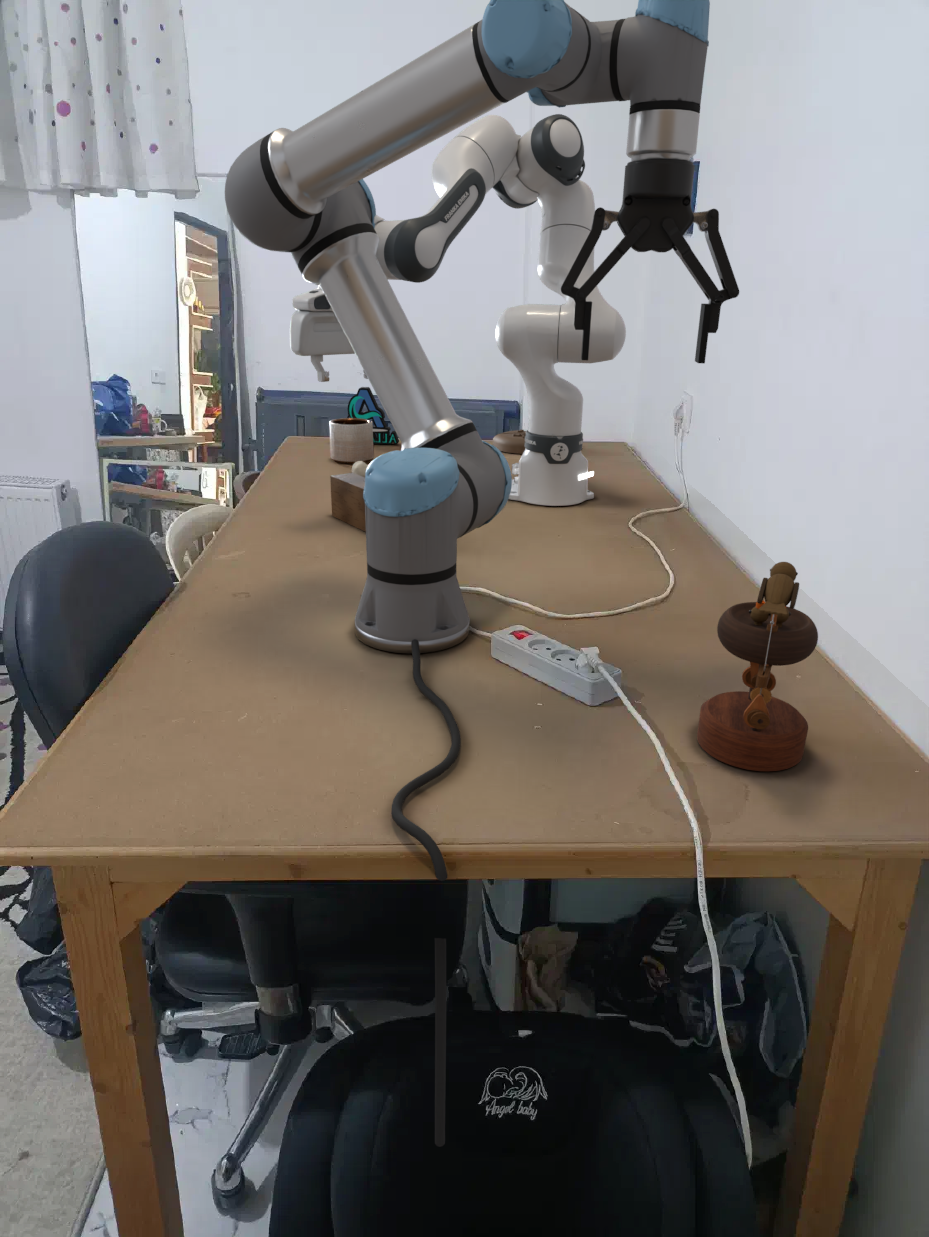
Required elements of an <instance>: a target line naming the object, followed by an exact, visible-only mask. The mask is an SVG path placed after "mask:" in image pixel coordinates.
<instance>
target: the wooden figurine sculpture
mask: <svg viewBox="0 0 929 1237" xmlns="http://www.w3.org/2000/svg"><path fill="white" fill-rule="evenodd" d="M798 574H799V572H797V569H796V567H795V566H794V565H793V564H792V563H791V562H788V561H779V562H777V563H775V564H774V565H773V566H772V567H771V568H769V575H770V576H769V577H763V578H762V581H761V585H760V588H759V592H758V596H757V600H756V601H747V602H740V603H737V604H734V605H732V606H730V607H728V608H727V609H725V611H723V612H722V614H721V615H720V617H719V620H718V622H717V628H716V632H717V637H718V640H719V641H720V644H721V645H722V646H723V648H724V649H725V650H726V651H727V652H728V653H730V654H731V655H733V656H735V657H736V658H738V659H741V660H743V661H747V662H749V666H747V667H746V668H745V669H744V670H743V672H742V673H741V678H742V679H741V680H742V683H743V684H744V685H745V686H746V687H748V688H749V689H748V691H745V690H744V691H743V690H739V691H737V690H735V691H734V690H733V691H725V692H722V693H719V694H716V695H714V696H712V697H711V698H708V699H707V700H705V701H704V702H703V703H702V705H701V706H700V709H699V710H700V711H699V718H698V724H697V732H696V739H697V742H698V744H699V746H700V748H702V750H703V751H704V752H706V753H707V754H708V755H710V756H711V757H712V758H714V759H716V760H718V761H719V762H722V763H724V764H726V765H729V766H731V767H732V766H733V767H736V768H739V769H743V770H748V771H753V772H754V771H755V772H778V771H783V770H787V769H791V768H792V767H794V766H795V767H796V765H798V764H799V763H800V762H801V761H802V759H803V757H804V752H805V747H806V742H807V737H808V732H809V724H808V721H807V720H806V718H805V716H803V715H802V714H801V712H800V711H799V710H798V709H797V708H796V707H795V706H794V705H792V704H790V703H788V702H786V701H784V700H783V699H781V698H778V697H774V696H772V691H773V690H774V689H775V687H776V685H777V679H776V676H775V675H774V674H773V673H772V671H771V670H772V668H773V667H774V666H777V667H779V666H790V665H795V664H797V663H800V662H802V661H804V660H806V659H808V658H809V657H810V656H811V655H812V654H813V653H814V651H815V649H816V647H817V645H818V641H819V631H818V628H817V626H816V624H815V622H814V621H813V619H812V618H811V617H810V616H809V615H807V614H806V613H805V612H803V611H801V610H799V609H796V608H795V606H796V603H797V598H798V595H799V588H800V583H799V582H797V581H796V578H797V576H798ZM788 605H789V606H788Z"/></svg>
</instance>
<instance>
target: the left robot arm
mask: <svg viewBox="0 0 929 1237" xmlns="http://www.w3.org/2000/svg"><path fill="white" fill-rule="evenodd" d="M710 6H711V0H638V1H637V8H636V9H635V13H634V14H635V15H634V16H630V17H626V18H620V19H613V20H598V21H590V20H589V19H588V18H586V17H585V16H584V15H583V14H581V13H580V12H578V10H576V9H575V8H573V7H572V6H570V5H569V4H568V3H567V2H566V1H565V0H490V1H489V2H488V4H487V5H486V6H485V9H484V12H483V16H482V18H481V20H479V21H477V22H476V23H474V24H472V25H471V26H469V27H467V28H465V29H464V30H462V31H460V32H459V33H456V34H455V35H454V36H452V37H450V38H448V39H447V40H445V41H443V42H441V43H440V44H438V45H436V46H435V47H433V48H432V49H430V50H428V51H427V52H425V53H423V54H422V55H420V56H418V57H416V58H415V59H413V60H411V61H409V62H408V63H406V64H405V65H403V66H401V67H400V68H398V69H396V70H395V71H393V72H391V73H389V74H388V75H386V76H384V77H382V78H381V79H379V80H378V81H375V82H374V83H373V84H370V85H369V86H368V87H365V88H364V89H363V90H361V91H359V92H357V93H356V94H354V95H352V96H351V97H349V98H347V99H345V100H343V101H342V102H341V103H339V104H337V105H335V106H334V107H332V108H330V109H329V110H327V111H325V112H324V113H322V114H320V115H319V116H317V117H315V118H314V119H311V120H310V121H309V122H307V123H305V124H303V125H302V126H300V127H298V128H297V129H295V130H291V129H289V128H286V127H278V128H277V129H275V130H273V131H272V132H270V133H267V134H266V135H265V136H263V137H261V138H259V139H258V140H257V141H255V142H254V143H252V144H251V145H249V146H248V147H247V148H245V149H244V150H243V151H242V152H240V154H239V155H238V156H237V157H236V158H235V159H234V161H233V163H232V164H231V165H230V168H229V170H228V172H227V174H226V179H225V184H224V202H225V206H226V211H227V213H228V216H229V218H230V221H231V222H232V224H233V226H234V227H235V229H236V230H237V232H239V233H240V235H241V236H242V237H243V238H244V239H246V240H247V241H248V242H249V243H251V244H252V245H253V246H255V247H258V248H260V249H262V250H265V251H268V252H277V253H289V254H290V255H291V257H292V259H293V261H294V263H295V265H296V266H297V268H298V270H299V272H300V274H301V276H302V278H303V280H304V281H305V282H306V283H310V284H312V285H315V286H317V287H318V286H320V287H321V288H322V290H323V292H324V294H325V296H326V298H327V300H328V302H329V304H330V306H331V308H332V310H333V312H334V314H335V315H336V317H337V319H338V321H339V323H340V325H341V327H342V329H343V331H344V333H345V335H346V337H347V339H348V340H349V342H350V344H351V346H352V348H353V350H354V352H355V354H354V355H355V357H357V360H358V362H359V364H360V365H361V368H362V370H363V369H364V371H365V373H366V375H367V377H368V379H367V380H368V381H369V383H370V385H371V387H372V389H373V390H374V392H375V395H376V396H377V398H378V400H379V403H380V404H381V406H382V408H383V411H384V413H385V415H387V418H388V420H389V422H390V424H391V426H392V427H393V429H394V431H395V432H396V434H397V436H398V439H399V442H400V443H401V448H400V450H396V449H395V450H391V451H388V452H385V453H382V454H381V455H379V456H376V457H375V458H373V459H372V460H371V461H370V463H369V464H367V465H368V467H367V469H366V473H365V486H364V493H363V498H364V501H365V521H366V532H365V545H366V546H365V548H366V579H365V584H364V586H363V589H362V592H361V594H360V600H359V602H358V606H357V609H356V612H355V617H354V633H355V636H356V638H357V639H358V640H359V641H360V642H362V643H363V644H365V645H367V646H368V647H371V648H374V649H377V650H380V651H384V652H390V653H396V654H397V653H398V654H411V655H412V679H413V681H414V683H415V685H416V687H417V688H418V690H419V691H420V692H421V693H422V694H423V696H424V697H425V698H426V699H428V700H429V701H430V702H431V703H432V704H433V705H434V706H435V707H436V708H437V709H438V710H439V711H440V712H441V715H442V716H443V718H444V720H445V723H446V725H447V727H448V730H449V732H450V737H451V745H450V748H449V751H448V753H447V755H446V756H445V758H444V759H443V760H442V761H440V763H438V764H437V765H435V766H434V767H433V768H431V769H429V770H428V771H425V772H424V773H422V774H420V775H419V776H416V777H415V778H414V779H412V780H410V781H409V782H408V783H406V784H405V785H404V786H402V787H401V788H400V790H398V792H397V793H396V794H395V796H394V798H393V800H392V803H391V817H392V820H393V822H394V823H395V824H396V826H398V827H399V828H400V829H401V830H402V831H404V832H405V833H407V834H408V835H410V836H411V837H412V838H414V839H415V840H417V841H418V843H420V844H421V845H422V846H423V848H424V849H425V850H426V851H427V853H428V855H429V857H430V859H431V862H432V865H433V869H434V874H435V878H436V879H437V880H438V881H441V882H444V881H446V880H448V871H447V866H446V863H445V860H444V857H443V854H442V851H441V849H440V847H439V846H438V845H437V843H436V841H435V840H434V839H433V838H432V836H431V835H429V833H428V832H427V831H426V830H425V829H423V828H422V827H420V825H417V824H416V823H414V822H413V821H411V820H410V819H408V818H407V817H406V816H405V815H404V813H403V806H404V803H405V801H406V800H407V798H408V797H409V796H410V795H411V794H412V793H414V792H415V791H417V790H418V789H419V788H421V787H423V786H425V785H427V784H428V783H430V782H432V781H433V780H435V779H436V778H438V777H439V776H441V775H443V774H444V773H445V772H446V771H448V770H449V769H450V768H451V767H452V766H453V765H454V763H456V760H457V759H458V757H459V755H460V750H461V744H462V737H461V732H460V728H459V726H458V723H457V721H456V718H455V717H454V715H453V713H452V711H451V709H450V708H449V706H448V704H446V702H444V700H443V699H442V698H441V697H440V696H438V694H436V693H435V692H434V691H433V690H432V689H431V688H430V687H429V686H428V685H427V684H426V683H425V681H424V679H423V677H422V672H421V669H422V668H421V665H422V662H421V654H425V653H433V652H439V651H443V650H446V649H449V648H452V647H455V646H457V645H458V644H460V643H462V642H463V641H464V640H466V639H467V637H468V636H469V634H470V616H469V612H468V608H467V606H466V601H465V599H464V596H463V593H462V589H461V586H460V583H459V581H458V577H457V561H458V560H457V559H458V558H457V557H458V556H457V554H458V539H460V538H462V537H463V536H465V535H467V534H469V533H471V532H472V531H474V530H477V529H479V528H481V527H483V526H486V525H487V524H489V523H490V522H491V521H492V520H493V519H494V518H495V517H496V516H498V515H499V514H500V513H501V512H502V510H504V508H505V506H506V505H507V503H508V501H509V500H510V499H509V495H510V492H511V487H512V479H513V478H512V477H513V476H512V470H511V467H510V465H509V462H508V460H507V458H506V456H505V455H504V454H503V453H502V451H499V449H497V448H496V447H495V446H493V444H491V443H489V442H487V441H485V440H482V438H481V435H480V434H479V432H478V430H477V428H476V426H475V425H474V422H473V421H472V420H471V419H469V418H466V417H463V416H460V415H459V414H457V413H456V410H455V409H454V407H453V404H452V403H451V401H450V399H449V397H448V395H447V393H446V391H445V390H444V387H443V385H442V384H441V382H440V379H439V378H438V376H437V374H436V371H435V370H434V368H433V366H432V364H431V362H430V360H429V358H428V356H427V354H426V352H425V350H424V347H423V346H422V344H421V342H420V340H419V338H418V336H417V334H416V332H415V331H414V329H413V326H412V325H411V323H410V321H409V319H408V317H407V315H406V313H405V311H404V309H403V307H402V305H401V303H400V302H399V299H398V297H397V295H396V293H395V291H394V290H393V287H392V286H391V283H390V282H389V280H388V279H387V278H386V276H385V274H384V272H383V270H382V268H381V266H380V264H379V262H378V260H377V258H376V252H377V249H378V245H379V237H378V235H377V233H376V231H375V229H374V228H375V223H374V217H375V216H376V215H377V209H376V203H375V199H374V197H373V194H372V191H371V189H370V187H369V185H368V184H367V183H366V181H365V180H364V179H365V178H367V177H369V176H371V175H372V174H374V173H376V172H378V171H380V170H382V169H384V168H386V167H388V166H389V165H392V164H394V163H396V162H397V161H399V160H401V159H403V158H405V157H406V156H408V155H410V154H412V153H414V152H415V151H417V150H420V149H421V148H423V147H425V146H427V145H429V144H431V143H432V142H435V141H436V140H438V139H440V138H442V137H444V136H445V135H448V134H449V133H452V132H453V131H455V130H457V129H458V128H460V127H462V126H464V125H466V124H468V123H470V122H472V121H473V120H476V119H478V118H479V117H481V116H483V115H485V114H487V113H488V112H490V111H493V110H494V109H496V108H498V107H500V106H501V105H503V104H506V103H509V102H510V101H512V100H514V99H516V98H519V97H520V96H522V95H524V94H525V93H527V96H528V98H529V100H530V101H531V103H532V104H534V105H535V106H539V107H557V108H566V107H567V106H574V105H575V106H576V105H585V104H587V105H588V104H597V103H598V104H599V103H609V102H610V103H611V102H627V101H629V113H628V127H627V128H628V129H627V138H626V153H625V154H626V156H627V157H628V158H629V159H630V161H628V162H627V164H626V165H625V166H624V177H623V190H622V202H621V207H620V209H619V211H614V210H608V209H605V208H603V207H597V208H595V212H594V216H593V222H592V228H591V231H590V233H589V235H588V237H587V239H586V241H585V243H584V244H583V246H582V248H581V250H580V252H579V254H578V256H577V258H576V260H575V262H574V263H573V265H572V267H571V269H570V271H569V273H568V275H567V277H566V279H565V281H564V282H563V284H562V286H561V292H562V293H563V294H564V295H566V296H569V297H571V298H573V299H574V301H575V314H574V327H575V330H583V338H582V354H581V359H582V360H588V355H589V340H590V326H591V311H592V302H591V301H586V297H587V296H588V295H589V294H590V293H591V292H592V291H593V289H594V288H595V287H596V286H597V287H598V285H599V284H600V283H601V282H602V281H603V279H604V278H605V277H606V276H607V275H608V274H609V273H610V271H611V270H612V269H613V268H614V267H615V266H616V265H617V263H618V262H619V261H620V260H621V259H622V258H623V256H624V255H625V254H626V253H627V252H628V251H629V250H630V249H632V250H633V251H634V252H637V253H646V252H650V251H652V252H655V253H668V252H670V251H672V250H673V251H674V253H675V254H676V255H677V257H678V258H679V259H680V261H681V262H682V263H683V265H684V266H685V269H687V272H689V274H690V275H691V277H692V278H693V280H694V281H695V283H696V284H697V286H698V287H699V288H700V290H701V292H702V293H703V294H704V297H706V299H707V300H708V303H701V304H700V313H699V321H698V329H697V336H696V347H695V354H694V355H695V356H694V362H695V363H697V364H705V363H706V357H707V348H708V338H709V334H716V333H717V331H719V330H718V329H719V326H720V325H719V324H720V316H721V309H722V305H723V303H724V302H726V301H730V300H732V299H736V298H737V297H738V296H739V295H740V288H739V285H738V282H737V280H736V277H735V273H734V271H733V268H732V265H731V262H730V259H729V256H728V254H727V251H726V247H725V245H724V242H723V239H722V235H721V233H720V214H719V213H720V212H719V210H718V209H717V208H711V209H708V210H704V211H697V212H694V211H693V209H692V195H693V194H692V193H693V187H694V186H693V185H694V177H695V176H694V175H695V164H694V163H693V161H691V158H693V157H695V155H696V154H697V148H698V138H699V126H700V116H701V114H700V113H701V102H702V97H703V96H702V95H703V88H704V79H705V69H706V63H707V55H708V47H709V45H710V40H709V24H710V9H711V8H710ZM613 223H616V224H617V226H618V228H619V230H620V231H621V233H622V234H623V238H622V239H621V240H620V241H619V242H618V244H616V246H615V247H614V248H613V250H611V252H610V253H609V254H608V255H607V256H606V258H605V259H604V260H603V261H602V262H601V263H600V264H599V266H598V267H596V269H594V273H593V274H592V275H591V276H590V277H589V278H588V279H587V281H586V282H585V283H584V284H583V285H582V286H581V288H580V289H579V288H576V287H574V284H575V283H576V281H577V279H578V277H579V275H580V273H581V271H582V269H583V267H584V266H585V264H586V262H587V260H588V258H589V256H590V254H591V252H592V251H593V249H594V250H595V247H596V245H597V243H598V241H599V239H600V237H601V236H602V232H603V231H608V230H609V229H610V227H611V225H612V224H613ZM693 224H695V225H697V228H698V231H699V232H701V233H704V238H705V242H706V243H707V247H708V249H709V253H710V255H711V258H712V261H713V264H714V267H715V270H716V273H717V276H718V279H719V281H720V284H721V287H722V289H720V290H719V288H718V287H717V285H716V284H715V282H714V281H713V279H712V278H711V277H710V275H709V274H708V272H707V271H706V269H705V267H704V266H703V265H702V263H701V262H700V260H699V259H698V257H697V256H696V254H695V252H694V251H693V250H692V248H691V245H690V244H689V243H688V241H687V240H686V239H685V237H684V236H685V234H686V233H687V232H688V230H689V229H690V227H691V226H692V225H693ZM434 986H435V987H434V1017H435V1018H434V1032H435V1033H434V1144H435V1146H436V1147H439V1148H440V1147H443V1146H444V1145H445V1144H446V1083H447V1082H446V1079H447V1078H446V1077H447V1076H446V1074H447V1073H446V1072H447V1068H446V1067H447V938H444V937H434Z"/></svg>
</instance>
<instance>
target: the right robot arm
mask: <svg viewBox="0 0 929 1237" xmlns="http://www.w3.org/2000/svg"><path fill="white" fill-rule="evenodd" d="M581 133H582V132H581V130H580V129H579V127H578V126H577V123H575V122H574V120H573V119H571V118H570V117H569V116H567V115H564V114H561V113H556V114H551V115H548V116H546V117H544V118H542V119H541V120H539V121H538V122H536V124H534V126H533V127H532V128H530V129H528V130H527V131H526V132H525V133H524V134H523V135H522V136H521V135H520V134H517V133H516V131H515V129H514V127H513V126H512V124H511V123H510V122H509V121H508V120H507V119H506V118H505V117H502V116H501V115H498V114H488V115H485V116H482V117H481V118H480V119H477V120H476V121H474V122H473V123H471V124H469V125H468V126H466V127H465V128H464V129H463V130H461V131H460V132H459V133H458V134H456V135H455V136H454V137H453V138H452V139H451V140H450V141H448V142H447V143H446V145H445V146H444V147H443V148H442V149H441V150H440V151H439V152H438V153H437V156H436V157H435V159H434V160H433V161H432V164H431V181H432V185H433V188H434V191H435V192H436V195H437V196H438V197H439V198H438V199H437V200H436V202H435V203H434V204H433V205H432V206H431V208H430V209H428V211H427V212H426V213H425V214H422V215H421V216H418V217H413V218H408V219H394V220H385V218H382V217H381V216H379V215H378V214H376V216H375V217H374V223H375V228H374V229H375V231H376V233H377V235H378V237H379V245H378V249H377V252H376V258H377V260H378V262H379V264H380V266H381V268H382V270H383V272H384V274H385V276H386V278H387V280H388V281H390V280H392V281H405V282H411V283H416V284H417V283H418V284H420V283H424V282H427V281H429V280H430V279H431V278H432V277H433V276H434V275H435V274H436V273H437V272H438V270H439V268H440V267H441V264H442V263H443V262H442V261H443V260H444V258H445V255H446V253H447V251H448V249H449V247H450V246H451V244H452V243H453V242H454V240H455V239H456V238H457V237H458V235H459V234H460V233H461V232H462V230H463V229H464V228H465V227H466V225H467V224H468V223H469V222H470V220H472V218H473V216H474V215H475V214H476V212H477V211H478V210H479V209H480V208H481V206H482V204H483V202H484V200H485V197H486V195H487V194H488V193H489V192H490V191H491V190H492V189H493V191H494V192H495V194H496V195H497V197H498V198H499V199H500V201H501V202H503V204H505V205H507V206H508V207H510V208H512V209H524V208H527V207H530V206H531V205H534V204H535V203H536V202H538V204H539V208H540V213H541V223H540V228H539V229H540V230H539V241H538V253H537V254H538V256H537V266H536V267H537V268H536V270H537V276H538V278H539V280H540V281H541V283H542V285H544V286H545V287H546V288H547V289H549V290H551V291H553V292H554V293H556V294H558V295H559V296H561V297H562V298H563V299H564V301H565V303H562V304H555V303H554V304H553V303H552V304H549V303H548V304H547V303H526V304H520V305H515V306H510V307H507V308H505V310H504V311H502V312H501V314H500V315H499V317H498V319H497V322H496V325H495V330H494V335H495V342H496V347H497V348H498V350H499V352H500V353H501V354H502V355H503V356H504V357H505V358H506V359H507V360H508V361H509V362H511V364H513V366H514V367H515V368H516V369H517V371H518V373H519V374H520V376H521V378H522V381H523V382H524V385H525V389H526V395H527V410H528V411H527V412H528V416H527V417H528V418H527V420H528V421H527V430H525V431H526V436H525V445H524V446H525V451H524V453H523V454H521V456H520V459H519V460H518V462H515V463H511V475H518V476H514V478H512V487H511V492H510V495H509V499H508V500H510V501H511V500H512V501H519V502H523V503H526V504H527V503H528V504H531V505H538V506H549V507H550V506H551V507H557V506H558V507H559V506H560V507H561V506H573V505H579V504H580V503H583V502H585V501H587V500H592V499H594V498H595V493H594V492H593V491H591V490H589V488H588V487H589V484H588V483H589V478H591V477H594V475H595V471H594V470H592V471H589V460H588V459H587V458H586V456H584V454H583V453H582V450H583V443H584V434H583V431H582V425H583V424H582V423H583V410H584V397H583V393H582V392H581V390H580V389H579V388H578V386H576V385H574V384H573V383H572V382H570V381H568V380H566V379H565V378H563V377H561V376H560V375H558V374H557V372H556V370H555V364H559V363H564V364H565V363H566V364H567V363H568V364H596V363H602V362H606V361H608V362H609V361H613V360H615V358H616V357H617V356H618V355H619V354H620V352H621V351H622V349H623V348H624V345H625V342H626V337H627V330H626V324H625V320H624V319H623V316H622V314H620V311H618V310H617V309H616V308H614V307H613V306H612V305H611V304H610V303H609V302H608V301H607V300H606V299H605V298H604V296H603V294H602V293H601V291H600V289H599V287H598V285H597V286H596V287H595V288H594V289H593V291H592V292H591V293H590V294H589V295H588V296H587V297H586V301H591V302H592V311H591V326H590V340H589V355H588V360H582V359H581V354H582V338H583V330H575V327H574V314H575V301H574V299H573V298H571V297H569V296H566V295H564V294H563V293H562V292H561V286H562V284H563V282H564V281H565V279H566V277H567V275H568V273H569V271H570V269H571V267H572V265H573V263H574V262H575V260H576V258H577V256H578V254H579V252H580V250H581V248H582V246H583V244H584V243H585V241H586V239H587V237H588V235H589V233H590V231H591V228H592V222H593V216H594V212H595V210H596V204H595V196H594V191H593V190H592V188H591V187H590V185H588V183H586V182H585V181H584V180H581V178H582V177H583V174H584V172H585V168H586V161H585V159H584V158H585V145H584V140H583V137H582V134H581ZM594 271H595V248H594V249H593V251H592V252H591V254H590V256H589V258H588V260H587V262H586V264H585V266H584V267H583V269H582V271H581V273H580V275H579V277H578V279H577V281H576V283H575V284H574V287H576V288H579V289H580V288H581V286H582V285H583V284H584V283H585V282H586V281H587V279H588V278H589V277H590V276H591V275H592V274H593V273H594ZM291 300H292V302H291V304H292V308H293V309H295V311H294V312H293V314H292V315H291V318H290V322H289V323H290V325H289V327H290V328H289V346H290V350H291V351H292V353H293V354H294V355H296V356H299V357H310V363H311V364H312V366H313V367H314V369H315V370H316V372H317V373H316V374H317V381H318V382H321V383H325V382H326V383H327V382H330V377H329V376H330V370H329V371H328V370H325V369H324V366H323V365H322V363H323V362H324V356H333V355H334V356H335V355H336V356H337V355H356V354H355V352H354V350H353V348H352V346H351V344H350V342H349V340H348V339H347V337H346V335H345V333H344V331H343V329H342V327H341V325H340V323H339V321H338V319H337V317H336V315H335V314H334V312H333V310H332V308H331V306H330V304H329V302H328V300H327V298H326V296H325V294H324V292H323V290H322V288H321V287H320V286H318V285H317V287H316V288H313V289H310V290H308V291H306V292H303V293H300V294H297V295H295V296H294V297H292V299H291ZM362 372H363V379H366V380H369V379H368V377H367V375H366V373H365V371H364V369H363V368H362Z"/></svg>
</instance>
